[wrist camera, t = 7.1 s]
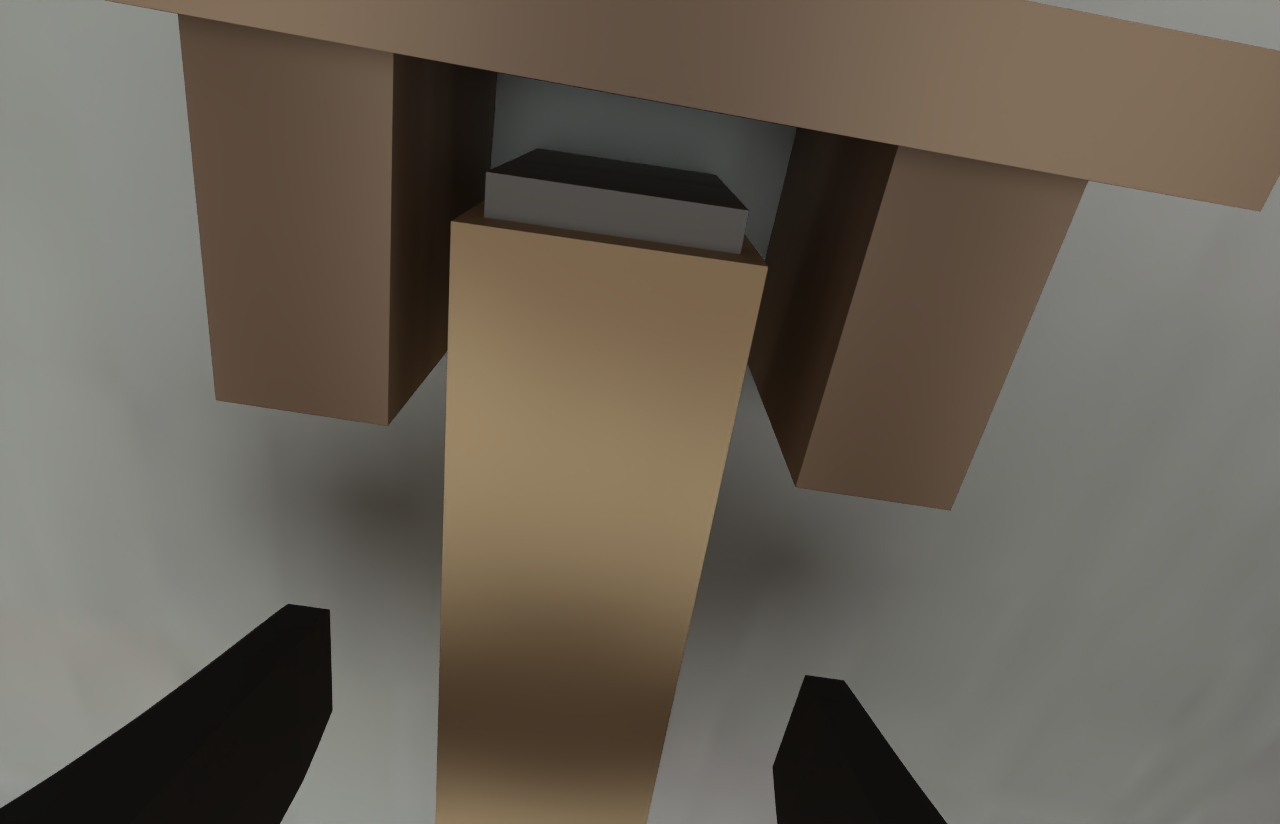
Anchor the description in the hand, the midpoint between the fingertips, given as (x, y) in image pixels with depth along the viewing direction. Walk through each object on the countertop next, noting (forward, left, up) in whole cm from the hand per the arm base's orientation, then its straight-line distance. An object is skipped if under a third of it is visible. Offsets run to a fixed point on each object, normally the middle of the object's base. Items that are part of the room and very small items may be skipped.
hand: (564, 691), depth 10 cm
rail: (0, 0, -5) cm, 5 cm away
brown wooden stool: (0, -6, -5) cm, 7 cm away
